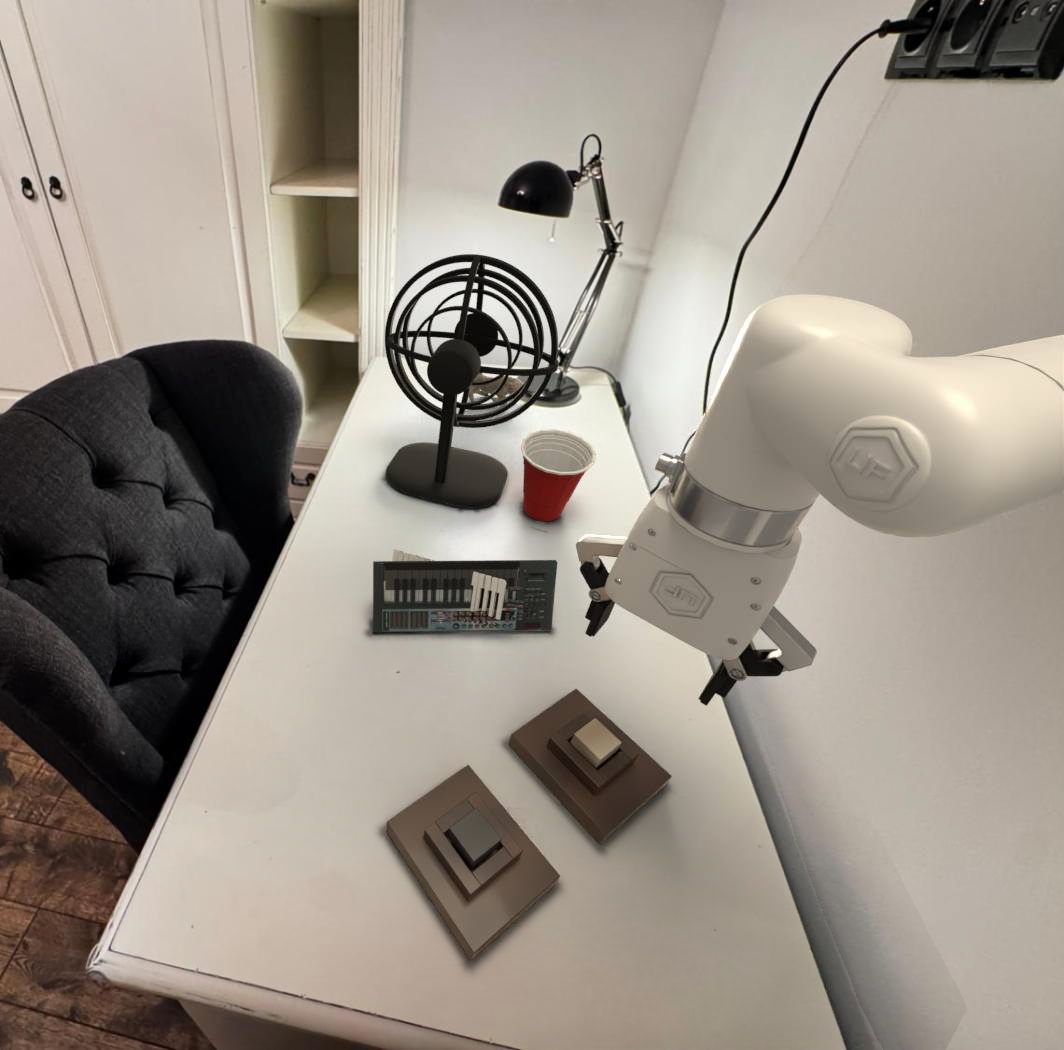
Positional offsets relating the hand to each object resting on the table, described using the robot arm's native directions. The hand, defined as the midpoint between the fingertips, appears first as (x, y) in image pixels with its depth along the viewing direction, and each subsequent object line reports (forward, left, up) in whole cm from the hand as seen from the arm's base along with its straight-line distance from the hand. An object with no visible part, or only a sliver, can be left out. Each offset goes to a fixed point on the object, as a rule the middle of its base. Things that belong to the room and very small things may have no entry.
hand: (649, 657), depth 48 cm
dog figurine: (+63, -46, -18) cm, 80 cm away
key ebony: (0, +17, -14) cm, 22 cm away
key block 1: (0, +17, -17) cm, 25 cm away
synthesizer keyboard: (+22, -1, -18) cm, 28 cm away
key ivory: (0, +1, -14) cm, 14 cm away
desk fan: (+48, -21, -18) cm, 55 cm away
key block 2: (0, +1, -17) cm, 17 cm away
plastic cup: (+32, -27, -18) cm, 45 cm away
